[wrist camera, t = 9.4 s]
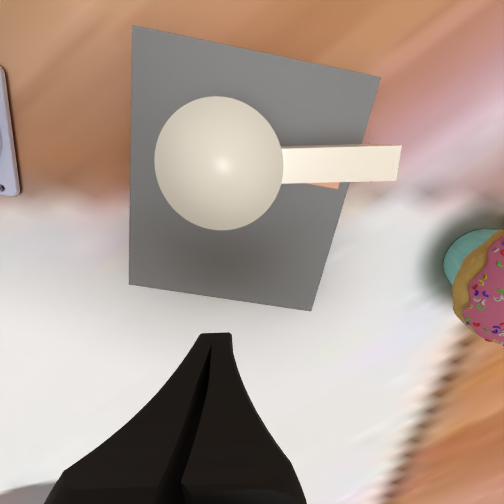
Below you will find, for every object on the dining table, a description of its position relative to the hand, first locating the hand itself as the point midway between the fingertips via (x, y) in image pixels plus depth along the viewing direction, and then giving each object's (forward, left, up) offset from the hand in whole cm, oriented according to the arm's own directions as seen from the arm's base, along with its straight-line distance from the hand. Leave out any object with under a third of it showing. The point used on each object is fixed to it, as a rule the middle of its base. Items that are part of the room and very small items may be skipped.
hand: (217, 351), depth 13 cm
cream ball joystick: (+1, +8, -7) cm, 11 cm away
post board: (0, +5, -10) cm, 12 cm away
